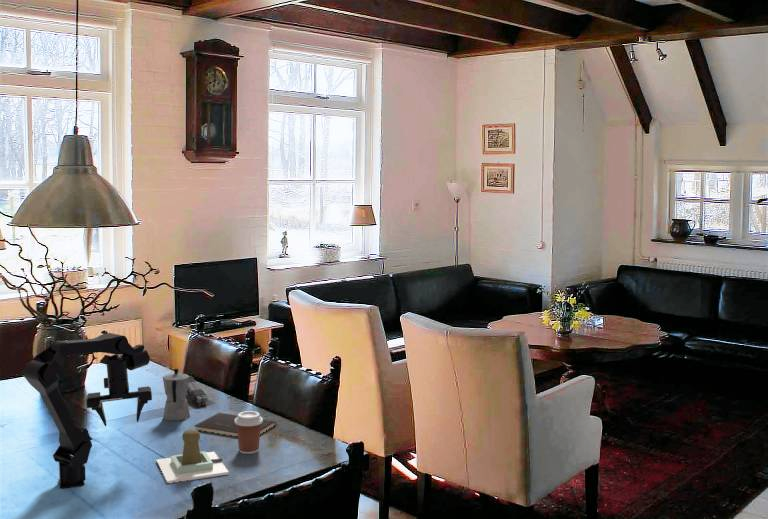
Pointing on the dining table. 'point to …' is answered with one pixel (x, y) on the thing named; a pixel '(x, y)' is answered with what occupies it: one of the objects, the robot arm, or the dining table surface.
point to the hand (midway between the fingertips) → (121, 423)
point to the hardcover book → (227, 424)
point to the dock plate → (192, 468)
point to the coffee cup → (248, 431)
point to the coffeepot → (176, 396)
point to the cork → (191, 447)
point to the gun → (196, 392)
